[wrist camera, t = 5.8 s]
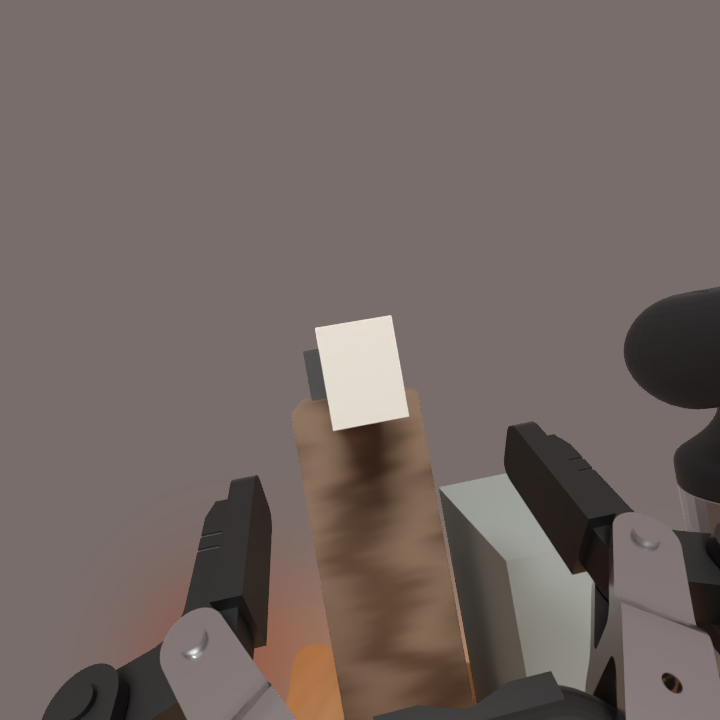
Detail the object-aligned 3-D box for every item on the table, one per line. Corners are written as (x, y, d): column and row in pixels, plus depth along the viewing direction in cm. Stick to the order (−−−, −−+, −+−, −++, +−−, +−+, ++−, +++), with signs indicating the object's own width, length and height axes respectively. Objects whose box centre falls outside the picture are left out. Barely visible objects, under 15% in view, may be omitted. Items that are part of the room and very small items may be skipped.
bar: (377, 384, 36) (369, 342, 36) (446, 409, 15) (428, 308, 15) (314, 396, 35) (306, 353, 35) (294, 438, 14) (275, 334, 14)
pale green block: (573, 713, 32) (529, 468, 32) (718, 917, 20) (648, 527, 20) (483, 737, 32) (438, 487, 32) (577, 963, 20) (505, 560, 20)
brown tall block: (443, 696, 36) (387, 382, 36) (501, 861, 24) (417, 390, 24) (360, 718, 35) (303, 398, 35) (376, 899, 23) (290, 414, 23)
